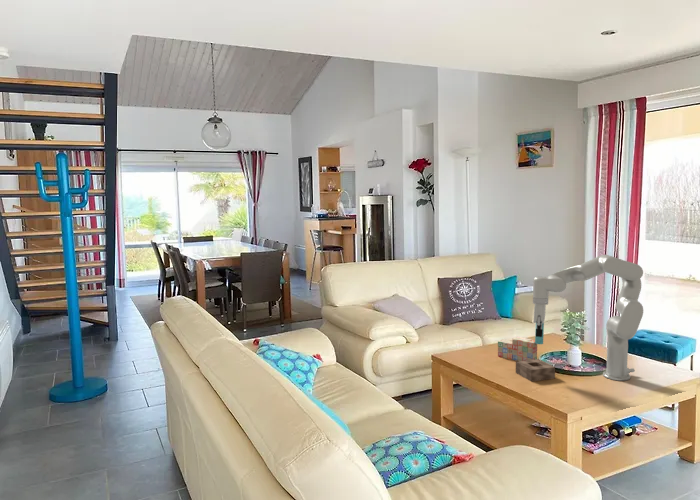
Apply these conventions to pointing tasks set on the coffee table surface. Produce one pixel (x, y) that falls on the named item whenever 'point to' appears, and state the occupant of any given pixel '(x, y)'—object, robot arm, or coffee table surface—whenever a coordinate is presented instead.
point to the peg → (539, 339)
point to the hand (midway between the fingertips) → (539, 335)
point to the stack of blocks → (518, 349)
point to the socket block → (535, 370)
